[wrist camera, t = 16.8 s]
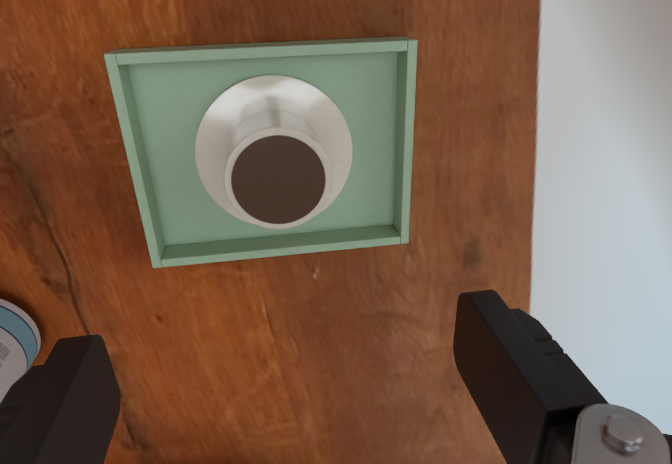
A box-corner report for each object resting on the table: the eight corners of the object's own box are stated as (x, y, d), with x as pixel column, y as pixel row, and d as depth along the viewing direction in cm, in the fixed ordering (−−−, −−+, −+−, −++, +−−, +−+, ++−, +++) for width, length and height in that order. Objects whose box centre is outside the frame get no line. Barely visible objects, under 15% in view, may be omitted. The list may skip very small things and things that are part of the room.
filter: (349, 69, 30) (367, 83, 25) (352, 217, 34) (367, 252, 30) (183, 78, 28) (169, 94, 24) (208, 229, 33) (200, 268, 28)
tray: (405, 36, 30) (417, 39, 28) (398, 227, 36) (408, 243, 33) (115, 48, 28) (103, 54, 25) (159, 249, 34) (152, 268, 31)
